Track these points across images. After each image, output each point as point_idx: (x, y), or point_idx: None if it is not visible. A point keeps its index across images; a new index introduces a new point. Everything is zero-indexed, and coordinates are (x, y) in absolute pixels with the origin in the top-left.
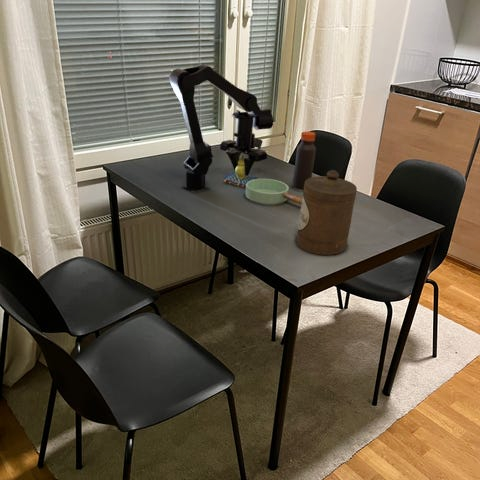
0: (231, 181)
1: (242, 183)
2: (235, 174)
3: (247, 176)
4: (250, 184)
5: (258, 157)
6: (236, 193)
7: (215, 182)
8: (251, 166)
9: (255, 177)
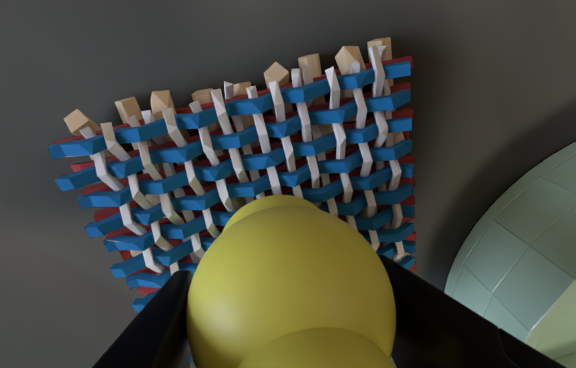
0: None
1: None
2: (142, 222)
3: (292, 154)
4: None
5: None
6: (390, 358)
7: None
8: (509, 348)
9: (394, 107)
